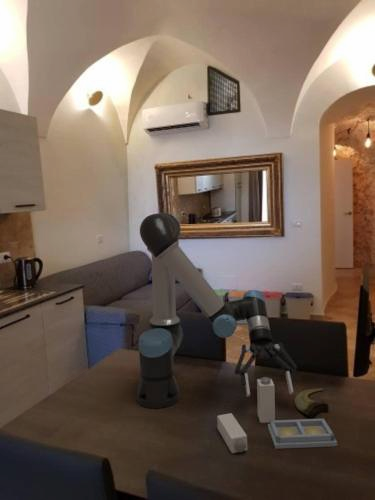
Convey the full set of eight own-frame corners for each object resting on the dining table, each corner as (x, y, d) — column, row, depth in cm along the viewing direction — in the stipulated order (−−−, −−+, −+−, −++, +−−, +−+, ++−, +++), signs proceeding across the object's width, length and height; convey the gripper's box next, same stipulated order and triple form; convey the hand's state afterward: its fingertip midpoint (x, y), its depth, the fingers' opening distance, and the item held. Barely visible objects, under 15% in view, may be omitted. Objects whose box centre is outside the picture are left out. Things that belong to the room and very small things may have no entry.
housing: (275, 448, 107) (275, 439, 107) (267, 427, 117) (267, 419, 117) (337, 446, 107) (337, 437, 107) (324, 425, 117) (324, 417, 117)
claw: (331, 421, 119) (331, 411, 119) (296, 419, 121) (296, 409, 121) (321, 391, 139) (321, 382, 138) (292, 390, 141) (292, 381, 140)
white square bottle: (260, 422, 120) (259, 382, 118) (257, 414, 124) (257, 376, 123) (275, 422, 120) (274, 382, 118) (271, 414, 124) (271, 375, 123)
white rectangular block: (217, 429, 118) (217, 415, 117) (231, 427, 119) (231, 413, 118) (233, 456, 105) (232, 440, 105) (248, 453, 106) (248, 437, 106)
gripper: (292, 334, 138) (306, 395, 126) (223, 338, 138) (229, 399, 125) (297, 325, 132) (312, 388, 120) (224, 329, 132) (231, 392, 119)
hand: (269, 394), depth 122 cm, fingers open, 13 cm apart
